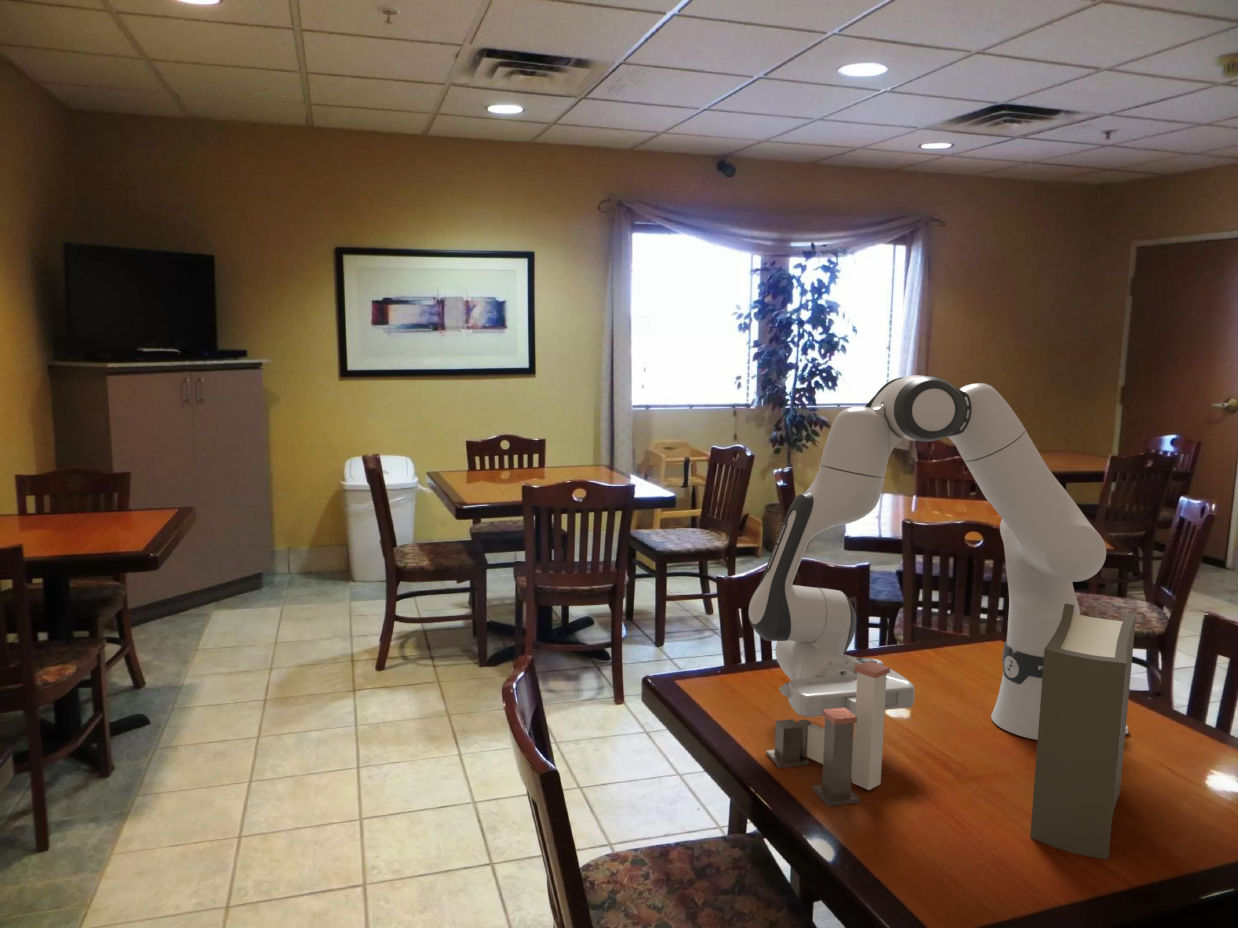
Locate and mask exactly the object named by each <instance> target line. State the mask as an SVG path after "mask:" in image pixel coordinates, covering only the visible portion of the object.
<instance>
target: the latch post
mask: <svg viewBox="0 0 1238 928" xmlns="http://www.w3.org/2000/svg"><path fill="white" fill-rule="evenodd" d="M822 717H824V729H825V733H824V754H823V764H822V777H821V778H822V779H821V784H819V785H812V791H813V792H814V793H815V794H816V795H817V797H819V799H820V800H821V801H823V802H824V804H825V805H826V806H827V807H836V806H842V805H844V806H845V805H850V804H859V803H860V801H861V799H860V797H859V796H858V795H857V794H855V793H854V791H853V790H851V787H852V785H851V784H852V777H851V770H852V751H853V741H854V729H855V723H857V717H856V716H855V714H852V713H851V712H850V711H849V710H847V709H846V708H845V707H844V708H834V709H823V716H822Z"/></svg>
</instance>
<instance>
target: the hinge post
mask: <svg viewBox="0 0 1238 928" xmlns="http://www.w3.org/2000/svg"><path fill="white" fill-rule="evenodd" d="M774 732H775V733H774V749H768V750H765V755H766V756H767V757H768V758H769V759H770V760H771V761H772V762H773V763H774V764H775V765H776V766H777V768H778V769H782V768H783V769H784V768H791V767H792V768H793V767H802V766H808V765H809V760H807V757H805V756H802V755H800V742H801V726H800V725H799V724H798V721H795V719H792V718H790V719H781V720H775V730H774Z"/></svg>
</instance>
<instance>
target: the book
mask: <svg viewBox="0 0 1238 928" xmlns="http://www.w3.org/2000/svg"><path fill="white" fill-rule="evenodd" d="M1136 620H1137V614H1136V613H1131V612H1130V613H1129V612H1125V614H1124V617H1123V620H1114V619H1107V618H1098V617H1092V616H1088V615H1087V616H1086V615H1082V614H1079V615H1078V614H1074V605H1072V604H1065V605H1064V609H1063V614H1062V619H1061V621H1060V623H1059V626H1058V628H1057V630H1056V632H1055V634H1054V635H1053V637H1052V638H1051V640H1050V641H1049V643H1048V644H1047V646H1046V647H1045V649H1044V662H1043V676H1042V689H1041V702H1040V715H1039V729H1038V740H1037V742H1036V743H1037V745H1036V759H1035V768H1034V769H1035V771H1034V781H1033V782H1034V785H1033V796H1032V797H1033V798H1032V807H1031V808H1032V810H1031V811H1032V812H1031V823H1030V836H1029V838H1031V839H1032V840H1036V841H1039V842H1040V843H1043V844H1045V845H1048V846H1050V847H1052V848H1056V849H1059V850H1063V851H1066V852H1070V853H1074V854H1077V855H1081V856H1084V857H1091V858H1097V859H1103V860H1109V855H1110V845H1111V834H1112V824H1113V818H1114V813H1115V812H1114V811H1115V807H1116V805H1117V803H1118V799H1119V797H1120V794H1121V785H1122V773H1123V762H1124V754H1125V753H1124V750H1125V742H1126V734H1125V731H1126V725H1127V719H1128V718H1127V717H1128V708H1129V707H1128V706H1129V699H1130V698H1129V696H1130V689H1131V688H1130V685H1131V676H1132V675H1131V674H1132V666H1133V665H1132V664H1133V663H1132V662H1133V654H1134V653H1133V652H1134V643H1135V634H1136V633H1135V631H1136V622H1137V621H1136Z"/></svg>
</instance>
